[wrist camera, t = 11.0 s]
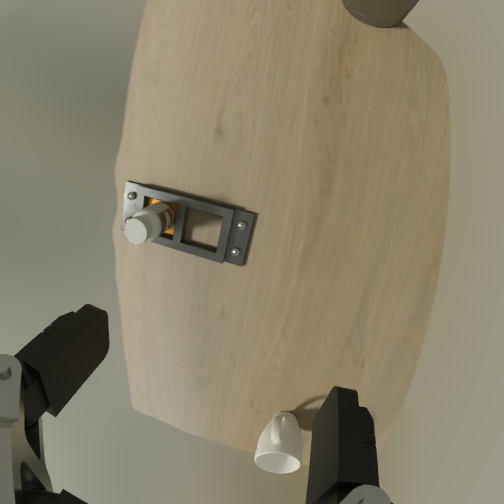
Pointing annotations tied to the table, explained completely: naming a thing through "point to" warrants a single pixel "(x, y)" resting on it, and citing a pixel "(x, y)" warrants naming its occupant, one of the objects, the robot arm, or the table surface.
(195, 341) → the table surface
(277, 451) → the mug
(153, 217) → the pill bottle
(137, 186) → the metal frame plate
